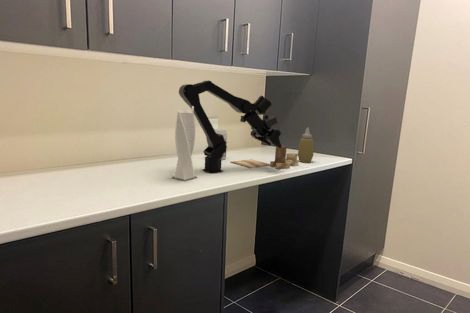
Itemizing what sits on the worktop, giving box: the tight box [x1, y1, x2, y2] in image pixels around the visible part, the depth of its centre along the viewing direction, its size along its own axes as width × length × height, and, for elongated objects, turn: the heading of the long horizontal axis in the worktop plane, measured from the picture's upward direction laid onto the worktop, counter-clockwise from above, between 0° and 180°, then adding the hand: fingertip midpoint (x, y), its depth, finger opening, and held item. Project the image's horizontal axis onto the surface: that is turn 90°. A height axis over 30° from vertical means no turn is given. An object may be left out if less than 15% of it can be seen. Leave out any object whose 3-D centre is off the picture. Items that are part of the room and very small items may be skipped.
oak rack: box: [269, 160, 291, 170], centre depth 158 cm, size 7×6×2 cm
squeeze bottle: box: [297, 127, 314, 164], centre depth 174 cm, size 8×8×18 cm
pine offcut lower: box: [285, 159, 300, 167], centre depth 165 cm, size 5×5×3 cm
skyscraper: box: [171, 106, 198, 182], centre depth 127 cm, size 8×8×28 cm
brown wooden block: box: [273, 145, 288, 168], centre depth 157 cm, size 4×3×10 cm
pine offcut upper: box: [286, 152, 298, 161], centre depth 164 cm, size 4×4×3 cm
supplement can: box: [214, 128, 228, 161], centre depth 172 cm, size 8×8×15 cm
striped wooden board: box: [229, 158, 270, 169], centre depth 163 cm, size 14×14×1 cm
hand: (275, 146), depth 155 cm, fingers open, 9 cm apart
